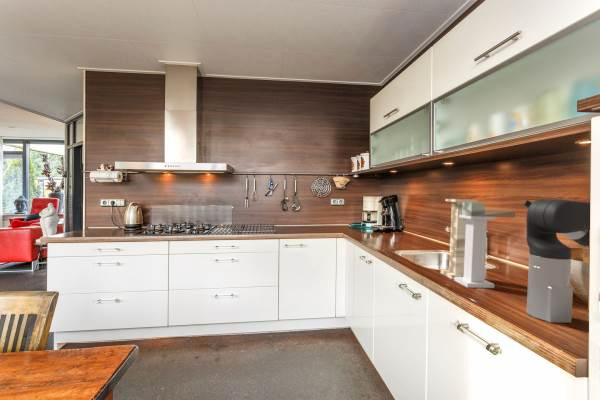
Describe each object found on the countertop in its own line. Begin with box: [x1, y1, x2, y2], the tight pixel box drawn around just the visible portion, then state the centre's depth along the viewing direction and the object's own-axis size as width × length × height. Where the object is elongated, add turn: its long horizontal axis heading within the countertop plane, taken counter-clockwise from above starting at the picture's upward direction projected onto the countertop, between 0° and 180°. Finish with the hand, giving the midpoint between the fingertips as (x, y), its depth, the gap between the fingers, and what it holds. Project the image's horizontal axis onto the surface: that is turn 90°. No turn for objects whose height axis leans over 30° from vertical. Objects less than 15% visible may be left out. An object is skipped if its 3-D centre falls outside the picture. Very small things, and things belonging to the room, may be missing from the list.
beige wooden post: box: [440, 198, 479, 280], centre depth 129 cm, size 9×10×32 cm
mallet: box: [462, 202, 516, 218], centre depth 117 cm, size 6×18×5 cm, turn 92°
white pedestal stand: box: [453, 215, 496, 289], centre depth 118 cm, size 9×10×26 cm
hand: (533, 202), depth 117 cm, fingers open, 8 cm apart
